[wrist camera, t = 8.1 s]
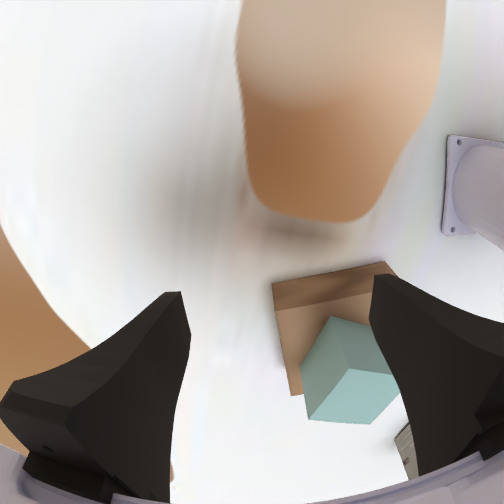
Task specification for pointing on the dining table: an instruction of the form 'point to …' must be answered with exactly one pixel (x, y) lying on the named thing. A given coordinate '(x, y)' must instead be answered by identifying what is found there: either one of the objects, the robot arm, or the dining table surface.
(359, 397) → the teal block
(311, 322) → the walnut block
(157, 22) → the dining table surface
